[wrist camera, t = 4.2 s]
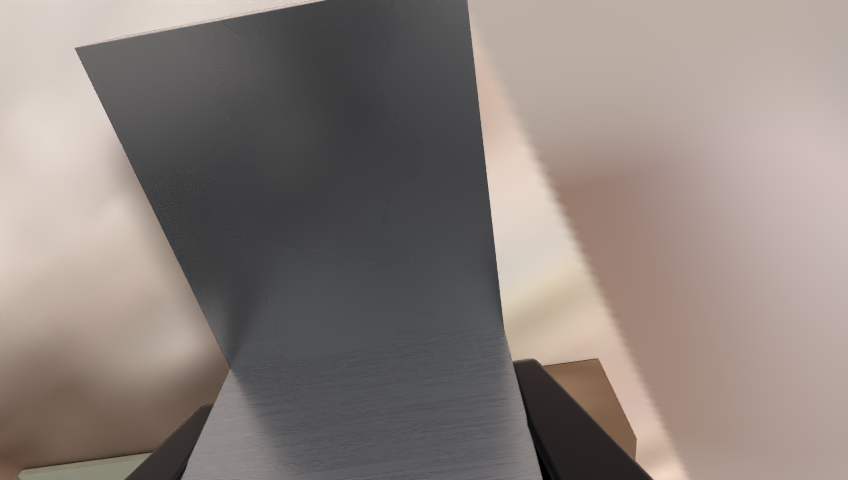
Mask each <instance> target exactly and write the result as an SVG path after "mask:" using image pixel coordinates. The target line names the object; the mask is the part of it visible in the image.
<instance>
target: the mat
mask: <svg viewBox="0 0 848 480" xmlns="http://www.w3.org/2000/svg"><path fill="white" fill-rule="evenodd" d="M151 454H152V453H145V454H138V455H130V456H123V457H115V458H108V459H101V460H93V461H86V462H78V463H71V464H63V465H56V466H49V467H41V468H34V469H26V470H22V471H21V472H20V473H19V475H18V478H19V479H20V480H124V479H125V478H126V477H127V476H128V475H130V474H131V473H132V472H133V471H134V470H135V469H136V468H137V467H138V466H139V465H140V464H141V463H142V462H143V461H144V460H145V459H146V458H147V457H149V456H150V455H151Z"/></svg>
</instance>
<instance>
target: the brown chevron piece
mask: <svg viewBox="0 0 848 480" xmlns="http://www.w3.org/2000/svg"><path fill="white" fill-rule="evenodd" d="M543 367H544V368H545V369H546V370H547V371H548V372H549V373H550V374H551V375H552V376H553V377H554V378H555V379H556V380H557V381H558V382H559V383H560V385H561V386H562V387H563V388H564V389H565V390H566V391H567V392H568V393H569V394H570V395H571V396H572V397H573V398H574V399H575V400H576V401H577V402H578V403H579V404H580V405H581V406H582V407H583V408H584V409H585V410H586V411H587V412H588V413H589V414H590V415H591V416H592V417H593V418H594V419H595V420H596V421H597V422H598V423H599V424H600V425H601V426H602V427H603V428H604V429H605V430H606V432H607V433H608V434H609V435H610V436H611V437H612V438H613V439H614V440H615V441H616V442H617V443H618V444H619V445H620V446H621V447H622V448H623V449H624V450H625V451H626V452H627V453H628V454H629V455H630V456H631V457H632V458H633V459H634V460H635V456H636V441H637V438H636V436H635V434H634V432H633V430H632V428H631V426H630V424H629V422H628V420H627V418H626V415H625V413H624V411H623V409H622V407H621V405H620V403H619V401H618V399H617V397H616V394H615V392H614V390H613V388H612V386H611V384H610V382H609V380H608V378H607V376H606V374H605V371H604V369H603V367H602V365H601V363H600V361H599V359H593V360H586V361H579V362H572V363H565V364H558V365H550V366H543Z"/></svg>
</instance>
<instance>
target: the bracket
mask: <svg viewBox="0 0 848 480" xmlns="http://www.w3.org/2000/svg"><path fill="white" fill-rule="evenodd" d="M75 50H76V52H77V54H78V56H79V58H80V60H81V62H82V64H83V66H84V68H85V70H86V72H87V74H88V77H89V79H90V81H91V83H92V85H93V87H94V89H95V91H96V93H97V95H98V97H99V99H100V101H101V103H102V105H103V107H104V109H105V111H106V114H107V116H108V118H109V120H110V122H111V124H112V126H113V128H114V130H115V132H116V134H117V136H118V138H119V140H120V142H121V144H122V146H123V148H124V151H125V153H126V155H127V157H128V159H129V161H130V163H131V165H132V167H133V169H134V171H135V173H136V175H137V177H138V179H139V181H140V183H141V185H142V188H143V190H144V192H145V194H146V196H147V198H148V200H149V202H150V204H151V206H152V208H153V210H154V212H155V214H156V216H157V218H158V220H159V222H160V225H161V227H162V229H163V231H164V233H165V235H166V237H167V239H168V241H169V243H170V245H171V247H172V249H173V251H174V253H175V255H176V257H177V259H178V262H179V264H180V266H181V268H182V270H183V272H184V274H185V276H186V278H187V280H188V282H189V284H190V286H191V288H192V290H193V292H194V294H195V296H196V299H197V301H198V303H199V305H200V307H201V309H202V311H203V313H204V315H205V317H206V319H207V321H208V323H209V325H210V327H211V329H212V331H213V333H214V336H215V338H216V340H217V342H218V344H219V346H220V348H221V350H222V352H223V354H224V356H225V358H226V360H227V362H228V364H229V366H230V370H229V373H228V375H227V377H226V379H225V381H224V384H223V386H222V388H221V390H220V392H219V395H218V397H217V399H216V401H215V403H214V406H213V408H212V410H211V412H210V415H209V417H208V419H207V421H206V423H205V426H204V428H203V430H202V432H201V434H200V437H199V439H198V441H197V443H196V445H195V448H194V450H193V452H192V454H191V456H190V459H189V461H188V464H187V467H186V470H185V472H184V474H183V476H182V478H181V480H543V479H542V475H541V471H540V468H539V464H538V460H537V456H536V452H535V448H534V444H533V440H532V437H531V435H530V432H529V429H528V425H527V419H526V413H525V409H524V405H523V401H522V397H521V393H520V390H519V386H518V382H517V378H516V374H515V370H514V366H513V362H512V358H511V354H510V351H509V347H508V343H507V339H506V335H505V331H504V325H503V316H502V307H501V298H500V289H499V280H498V271H497V263H496V254H495V245H494V236H493V227H492V218H491V209H490V200H489V191H488V182H487V173H486V164H485V155H484V147H483V138H482V129H481V120H480V111H479V102H478V93H477V84H476V75H475V66H474V57H473V48H472V39H471V31H470V22H469V13H468V4H467V0H311V1H306V2H301V3H296V4H290V5H285V6H280V7H275V8H269V9H264V10H259V11H254V12H249V13H243V14H238V15H233V16H228V17H222V18H217V19H212V20H207V21H201V22H196V23H191V24H186V25H180V26H175V27H170V28H165V29H159V30H154V31H149V32H144V33H139V34H133V35H128V36H124V37H119V38H115V39H111V40H107V41H102V42H98V43H94V44H90V45H85V46H81V47H77V48H75Z"/></svg>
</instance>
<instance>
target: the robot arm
mask: <svg viewBox="0 0 848 480" xmlns="http://www.w3.org/2000/svg"><path fill="white" fill-rule="evenodd" d="M512 362H513V366H514V370H515V374H516V378H517V382H518V386H519V390H520V393H521V397H522V401H523V405H524V409H525V413H526V419H527V425H528V429H529V432H530V435H531V437H532V440H533V444H534V448H535V452H536V456H537V460H538V464H539V468H540V471H541V475H542V479H543V480H653V479H652V477H651V476H650V475H649V474H648V473H647V472H646V471H645V470H644V469H643V468H642V467H641V466H640V465H639V464H638V463H637V462H636V461H635V460H634V459H633V458H632V457H631V456H630V455H629V454H628V453H627V452H626V451H625V450H624V449H623V448H622V447H621V446H620V445H619V444H618V443H617V442H616V441H615V440H614V439H613V438H612V437H611V436H610V435H609V434H608V433H607V432H606V430H605V429H604V428H603V427H602V426H601V425H600V424H599V423H598V422H597V421H596V420H595V419H594V418H593V417H592V416H591V415H590V414H589V413H588V412H587V411H586V410H585V409H584V408H583V407H582V406H581V405H580V404H579V403H578V402H577V401H576V400H575V399H574V398H573V397H572V396H571V395H570V394H569V393H568V392H567V391H566V390H565V389H564V388H563V387H562V386H561V385H560V383H559V382H558V381H557V380H556V379H555V378H554V377H553V376H552V375H551V374H550V373H549V372H548V371H547V370H546V369H545V368H544V367H543V366H542V365H541V364H540V363H539V362H538V361H537V360H535V359H524V360H517V361H512ZM213 406H214V403H210V404H206V405H203V406H202V407H200V408H199V409H198V410H197V411H196V412H195V413H194V414H193V415H192V416H191V417H190V418H189V419H188V420H186V421H185V422H184V423H183V424H182V425H181V426H180V427H179V428H178V429H177V430H176V431H175V432H174V433H173V434H172V435H171V436H170V437H169V438H168V439H166V440H165V441H164V442H163V443H162V444H161V445H160V446H159V447H158V448H157V449H156V450H155V451H154V452H153V453H152V454H151V455H150V456H149V457H147V458H146V459H145V460H144V461H143V462H142V463H141V464H140V465H139V466H138V467H137V468H136V469H135V470H134V471H133V472H132V473H131V474H130V475H128V476H127V477H126V478H125V479H124V480H181V478H182V476H183V474H184V472H185V470H186V467H187V464H188V461H189V459H190V456H191V454H192V452H193V450H194V448H195V445H196V443H197V441H198V439H199V437H200V434H201V432H202V430H203V428H204V426H205V423H206V421H207V419H208V417H209V415H210V412H211V410H212V408H213Z"/></svg>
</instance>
